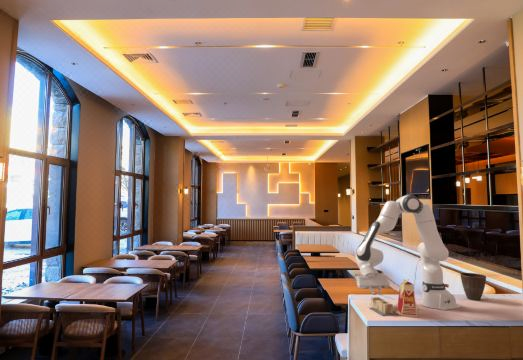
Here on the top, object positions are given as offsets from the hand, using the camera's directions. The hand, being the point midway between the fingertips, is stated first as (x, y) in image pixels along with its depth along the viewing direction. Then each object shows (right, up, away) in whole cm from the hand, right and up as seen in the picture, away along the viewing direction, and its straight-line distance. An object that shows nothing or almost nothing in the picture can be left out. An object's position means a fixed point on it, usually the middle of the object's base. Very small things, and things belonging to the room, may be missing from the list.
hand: (377, 294), depth 207 cm
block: (-1, -6, +3) cm, 6 cm away
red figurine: (+13, -8, -11) cm, 19 cm away
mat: (+1, -8, -7) cm, 10 cm away
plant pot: (+72, -11, +24) cm, 77 cm away
